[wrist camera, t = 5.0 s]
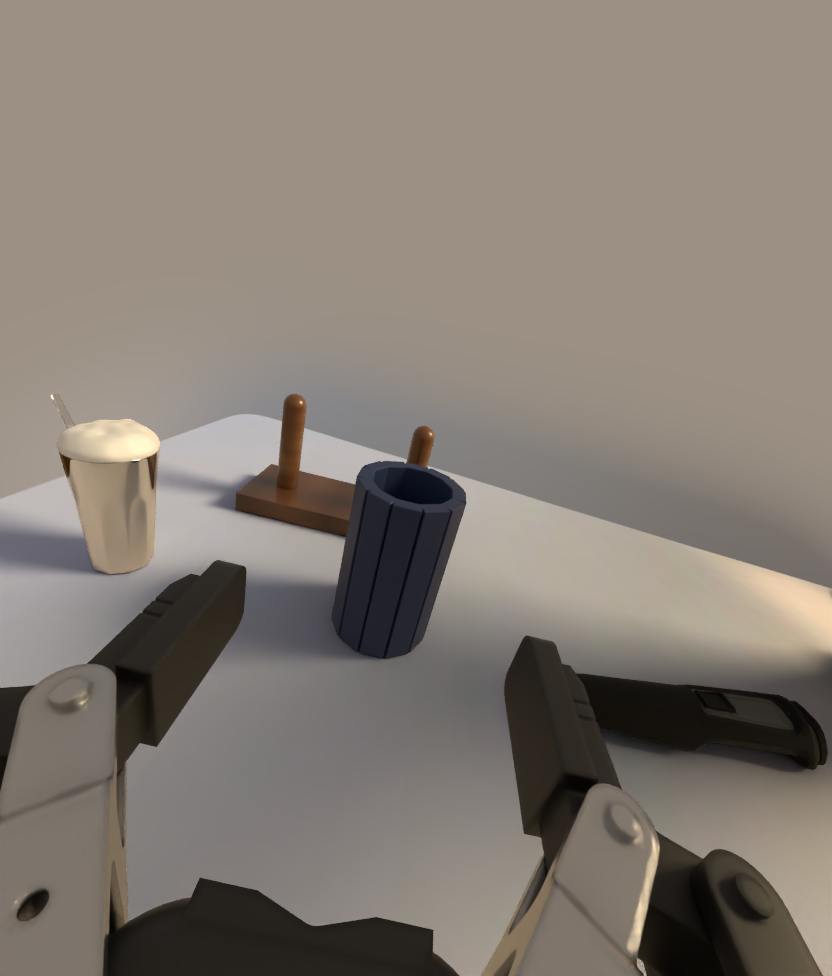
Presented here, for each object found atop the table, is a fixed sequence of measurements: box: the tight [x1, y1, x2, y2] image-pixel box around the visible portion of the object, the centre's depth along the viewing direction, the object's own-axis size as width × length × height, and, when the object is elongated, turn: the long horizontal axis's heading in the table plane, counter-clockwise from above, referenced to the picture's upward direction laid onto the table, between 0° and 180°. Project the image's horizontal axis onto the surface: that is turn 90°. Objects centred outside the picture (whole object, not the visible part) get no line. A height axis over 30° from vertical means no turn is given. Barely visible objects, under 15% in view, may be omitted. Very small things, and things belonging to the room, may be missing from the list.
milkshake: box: [51, 394, 160, 574], centre depth 23 cm, size 5×5×10 cm
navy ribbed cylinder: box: [332, 461, 466, 658], centre depth 23 cm, size 6×6×10 cm
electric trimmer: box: [576, 673, 828, 770], centre depth 23 cm, size 4×16×3 cm, turn 91°
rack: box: [236, 394, 434, 536], centre depth 34 cm, size 17×7×10 cm, turn 85°
